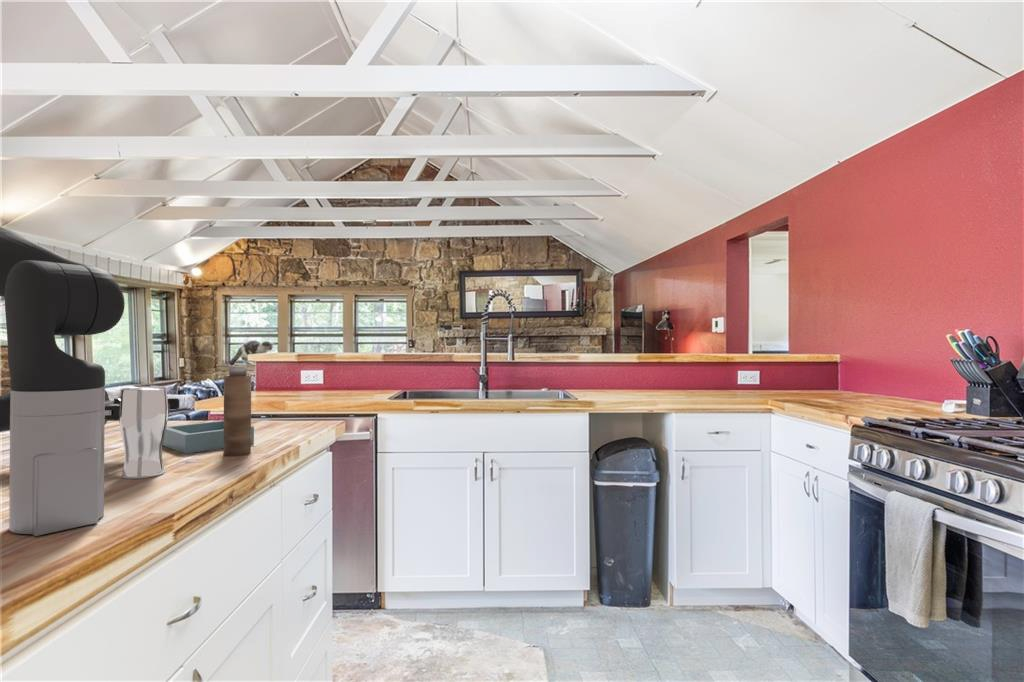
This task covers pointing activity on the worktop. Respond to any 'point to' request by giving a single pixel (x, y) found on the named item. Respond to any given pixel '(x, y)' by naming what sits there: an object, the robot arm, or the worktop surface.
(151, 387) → the beer glass
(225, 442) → the pepper mill
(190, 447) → the tray
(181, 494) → the worktop surface
